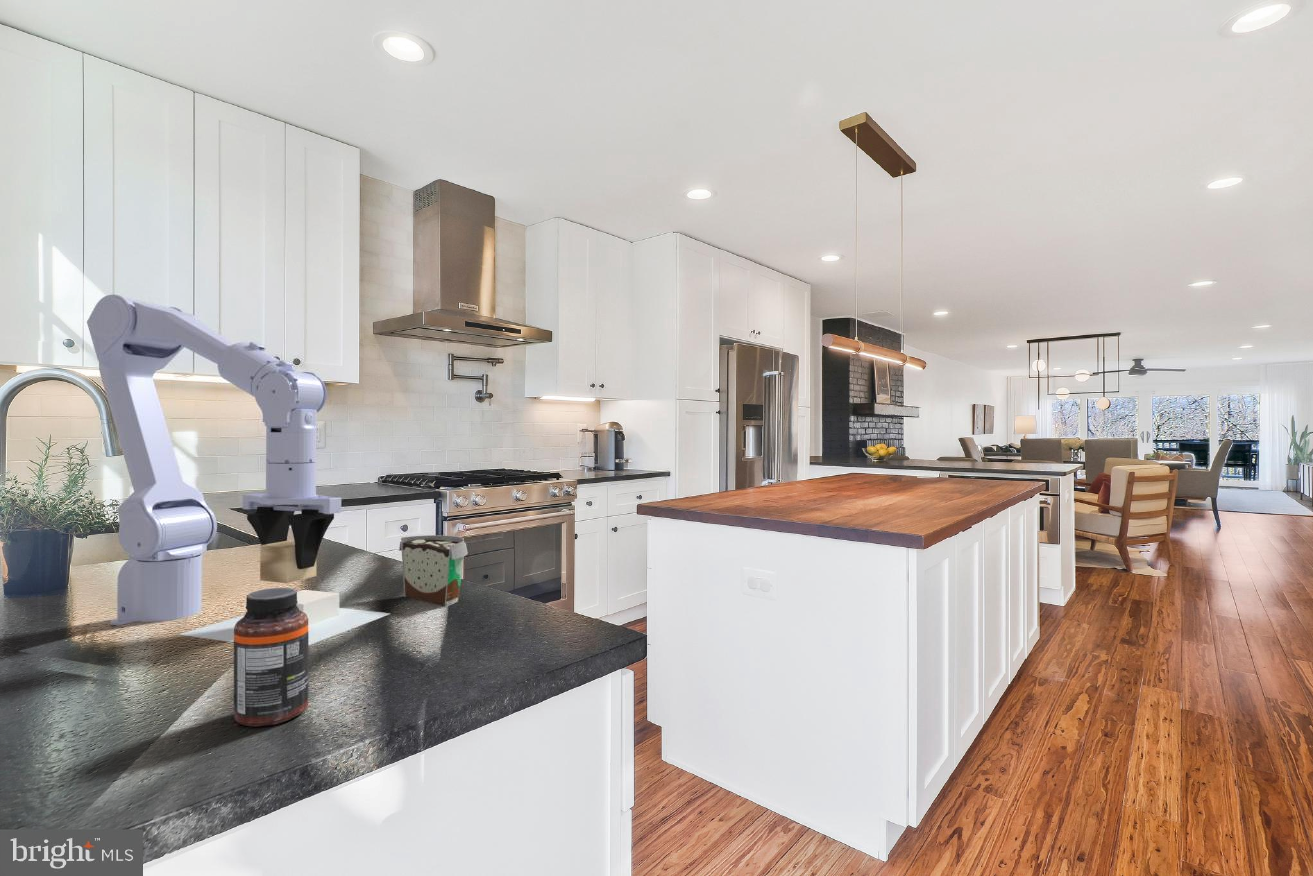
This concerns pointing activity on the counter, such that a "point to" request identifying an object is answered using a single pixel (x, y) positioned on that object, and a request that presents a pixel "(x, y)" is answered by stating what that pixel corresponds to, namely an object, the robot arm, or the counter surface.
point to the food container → (432, 567)
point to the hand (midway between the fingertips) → (290, 566)
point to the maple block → (282, 563)
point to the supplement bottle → (270, 659)
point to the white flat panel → (316, 631)
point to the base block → (318, 605)
